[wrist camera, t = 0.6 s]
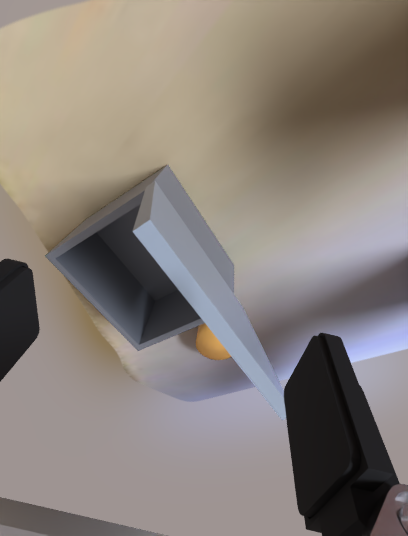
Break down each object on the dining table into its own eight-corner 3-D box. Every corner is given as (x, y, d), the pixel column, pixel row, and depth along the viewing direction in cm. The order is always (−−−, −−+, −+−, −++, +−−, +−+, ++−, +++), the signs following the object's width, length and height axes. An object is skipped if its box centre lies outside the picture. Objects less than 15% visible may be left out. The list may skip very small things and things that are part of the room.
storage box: (234, 265, 42) (233, 310, 33) (155, 302, 47) (138, 350, 38) (167, 164, 35) (146, 189, 27) (85, 219, 40) (44, 255, 32)
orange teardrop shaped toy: (245, 333, 49) (245, 351, 45) (211, 346, 51) (209, 364, 47) (225, 305, 46) (224, 323, 43) (191, 320, 48) (187, 338, 45)
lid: (235, 312, 33) (243, 307, 33) (282, 420, 21) (294, 413, 20) (146, 187, 27) (155, 180, 27) (132, 231, 14) (149, 219, 14)
